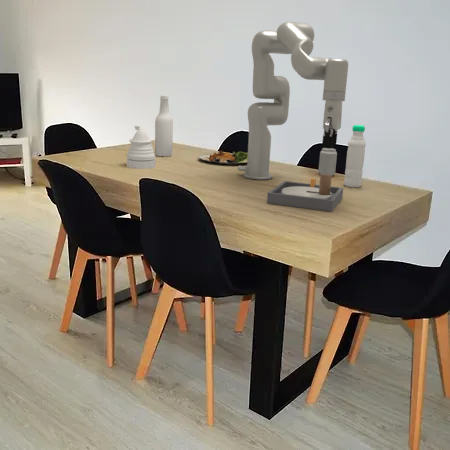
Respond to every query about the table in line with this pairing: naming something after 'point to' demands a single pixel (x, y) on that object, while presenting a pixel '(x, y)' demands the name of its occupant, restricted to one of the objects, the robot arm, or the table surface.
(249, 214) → the table surface
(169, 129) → the alcohol
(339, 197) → the dial frame
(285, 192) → the dial
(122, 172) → the table surface
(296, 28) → the robot arm
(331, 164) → the can
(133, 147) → the honey pot
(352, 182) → the water bottle
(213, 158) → the plate of food
